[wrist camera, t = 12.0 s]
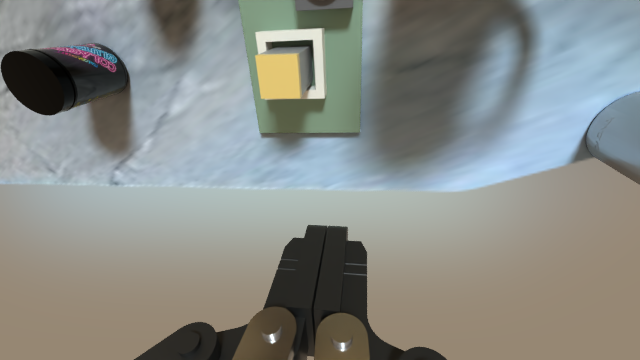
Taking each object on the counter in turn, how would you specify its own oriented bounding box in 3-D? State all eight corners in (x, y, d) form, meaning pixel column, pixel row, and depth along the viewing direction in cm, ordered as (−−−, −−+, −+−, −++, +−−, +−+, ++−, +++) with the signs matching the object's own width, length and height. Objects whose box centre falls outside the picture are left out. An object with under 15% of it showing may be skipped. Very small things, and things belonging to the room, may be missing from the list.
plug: (311, 45, 34) (297, 54, 26) (313, 80, 36) (300, 98, 28) (278, 46, 35) (255, 55, 27) (282, 80, 36) (261, 98, 29)
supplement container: (140, 75, 40) (75, 93, 31) (113, 102, 42) (47, 126, 33) (98, 30, 37) (16, 36, 28) (73, 62, 40) (-10, 76, 31)
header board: (364, -80, 29) (364, -95, 25) (359, 129, 40) (359, 142, 36) (231, -67, 31) (212, -79, 27) (262, 130, 42) (252, 142, 38)
